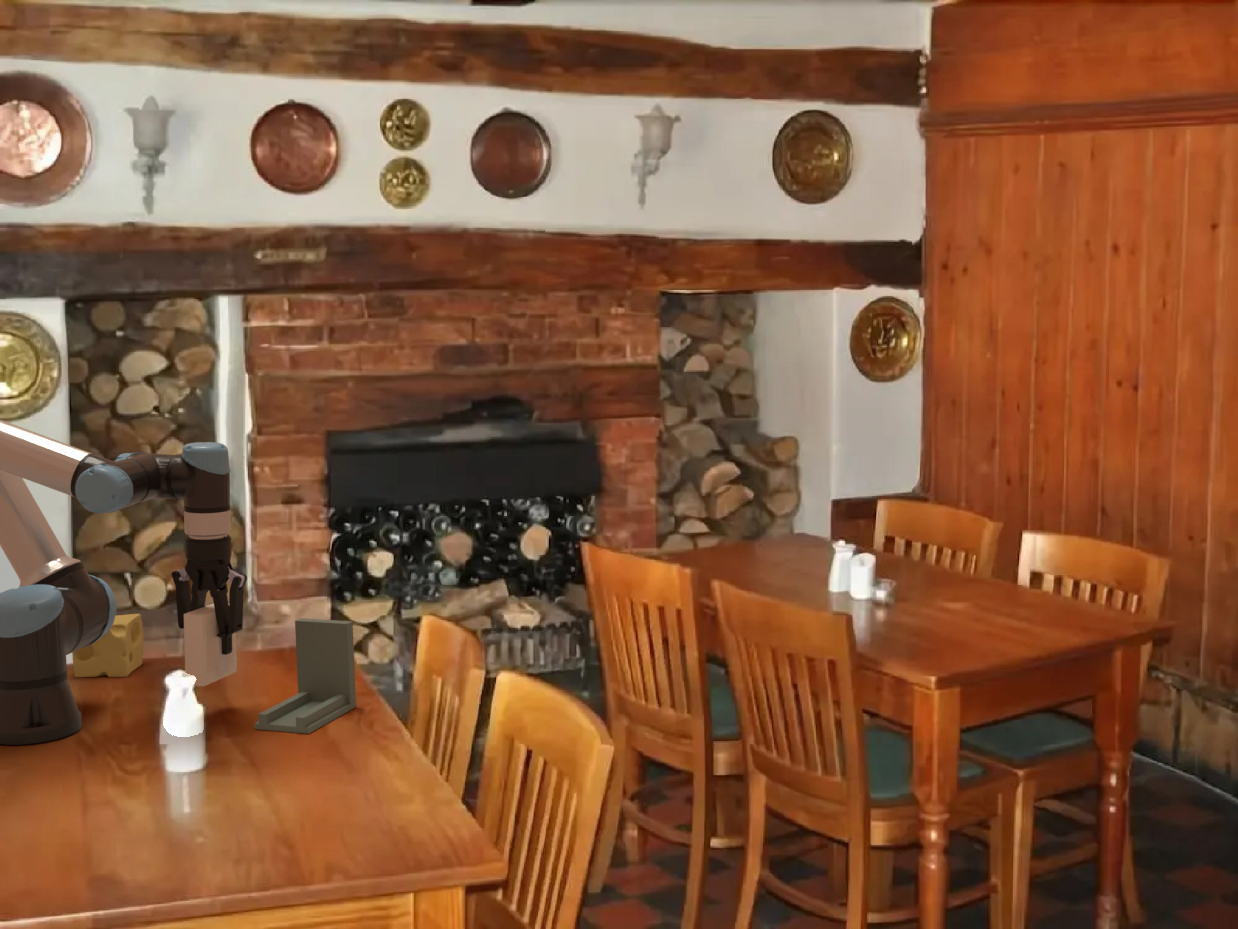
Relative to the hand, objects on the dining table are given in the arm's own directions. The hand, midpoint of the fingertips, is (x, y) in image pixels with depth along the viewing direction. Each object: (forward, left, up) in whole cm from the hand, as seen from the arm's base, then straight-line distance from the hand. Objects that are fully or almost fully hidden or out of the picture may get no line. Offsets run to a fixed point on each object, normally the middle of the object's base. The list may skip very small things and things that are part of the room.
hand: (211, 671), depth 262 cm
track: (+2, -17, -8) cm, 18 cm away
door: (0, 0, -1) cm, 1 cm away
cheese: (+20, +36, -8) cm, 42 cm away
